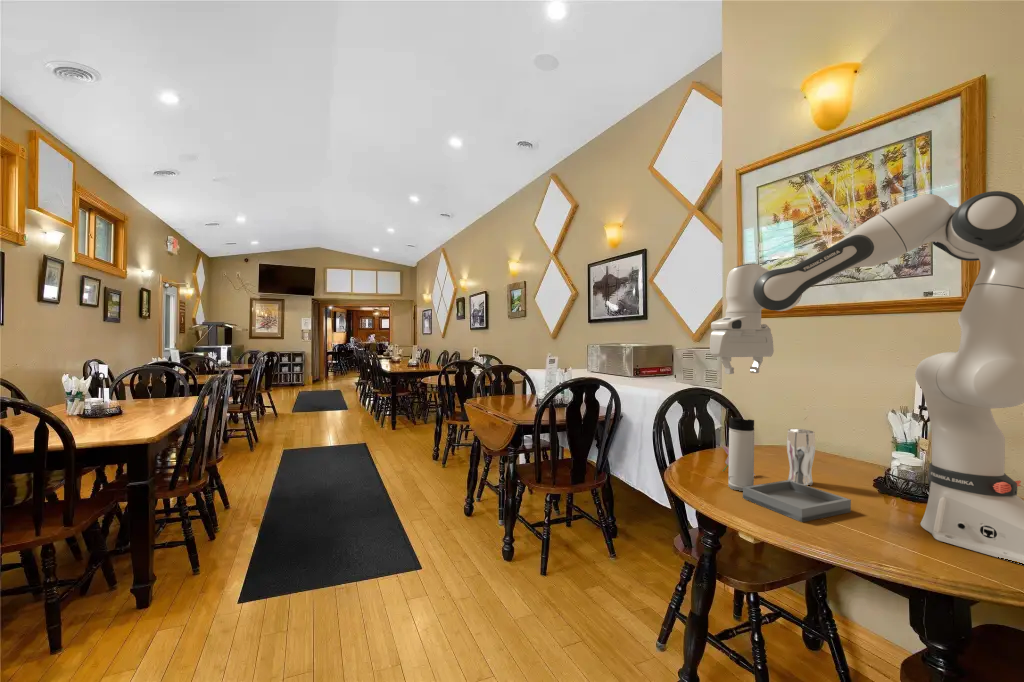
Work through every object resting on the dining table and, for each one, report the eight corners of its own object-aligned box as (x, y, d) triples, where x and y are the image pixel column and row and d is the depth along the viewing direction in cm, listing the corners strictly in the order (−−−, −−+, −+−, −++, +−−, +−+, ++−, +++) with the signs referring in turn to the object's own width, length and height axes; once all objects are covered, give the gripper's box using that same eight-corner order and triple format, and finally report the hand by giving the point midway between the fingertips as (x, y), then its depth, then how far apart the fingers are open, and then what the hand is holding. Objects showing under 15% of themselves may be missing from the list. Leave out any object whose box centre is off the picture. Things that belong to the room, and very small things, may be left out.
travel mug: (724, 488, 126) (725, 416, 126) (733, 483, 131) (733, 413, 130) (748, 494, 121) (749, 419, 121) (756, 488, 126) (757, 416, 126)
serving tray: (850, 512, 110) (850, 499, 109) (801, 522, 103) (801, 509, 103) (788, 490, 124) (788, 479, 124) (742, 498, 118) (742, 487, 118)
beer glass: (820, 486, 128) (821, 433, 128) (795, 486, 128) (796, 433, 128) (804, 478, 135) (805, 428, 135) (781, 478, 135) (782, 428, 135)
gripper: (760, 324, 132) (759, 371, 132) (706, 323, 125) (705, 373, 125) (780, 324, 126) (779, 373, 126) (724, 322, 119) (723, 375, 119)
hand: (742, 373), depth 126 cm, fingers open, 8 cm apart
